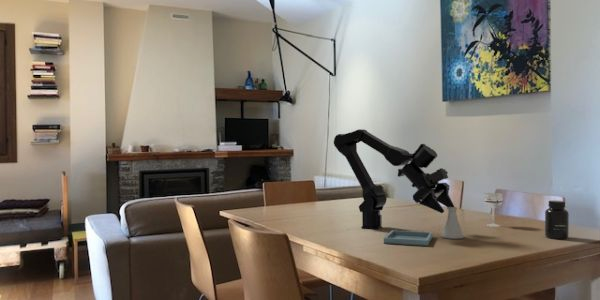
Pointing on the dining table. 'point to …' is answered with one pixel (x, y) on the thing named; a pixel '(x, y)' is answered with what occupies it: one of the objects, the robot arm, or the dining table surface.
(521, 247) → the dining table surface
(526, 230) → the dining table surface
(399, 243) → the tray
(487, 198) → the wineglass
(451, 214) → the flask
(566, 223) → the supplement bottle
